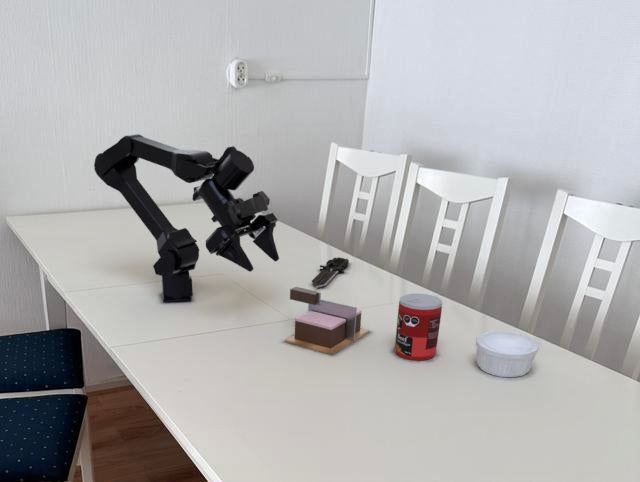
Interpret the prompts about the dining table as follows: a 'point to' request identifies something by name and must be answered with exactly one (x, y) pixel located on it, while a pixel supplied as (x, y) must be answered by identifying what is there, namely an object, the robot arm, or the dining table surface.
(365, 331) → the cake board
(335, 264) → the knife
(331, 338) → the cake
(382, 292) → the dining table surface
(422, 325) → the canned food
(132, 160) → the robot arm
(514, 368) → the ramekin
